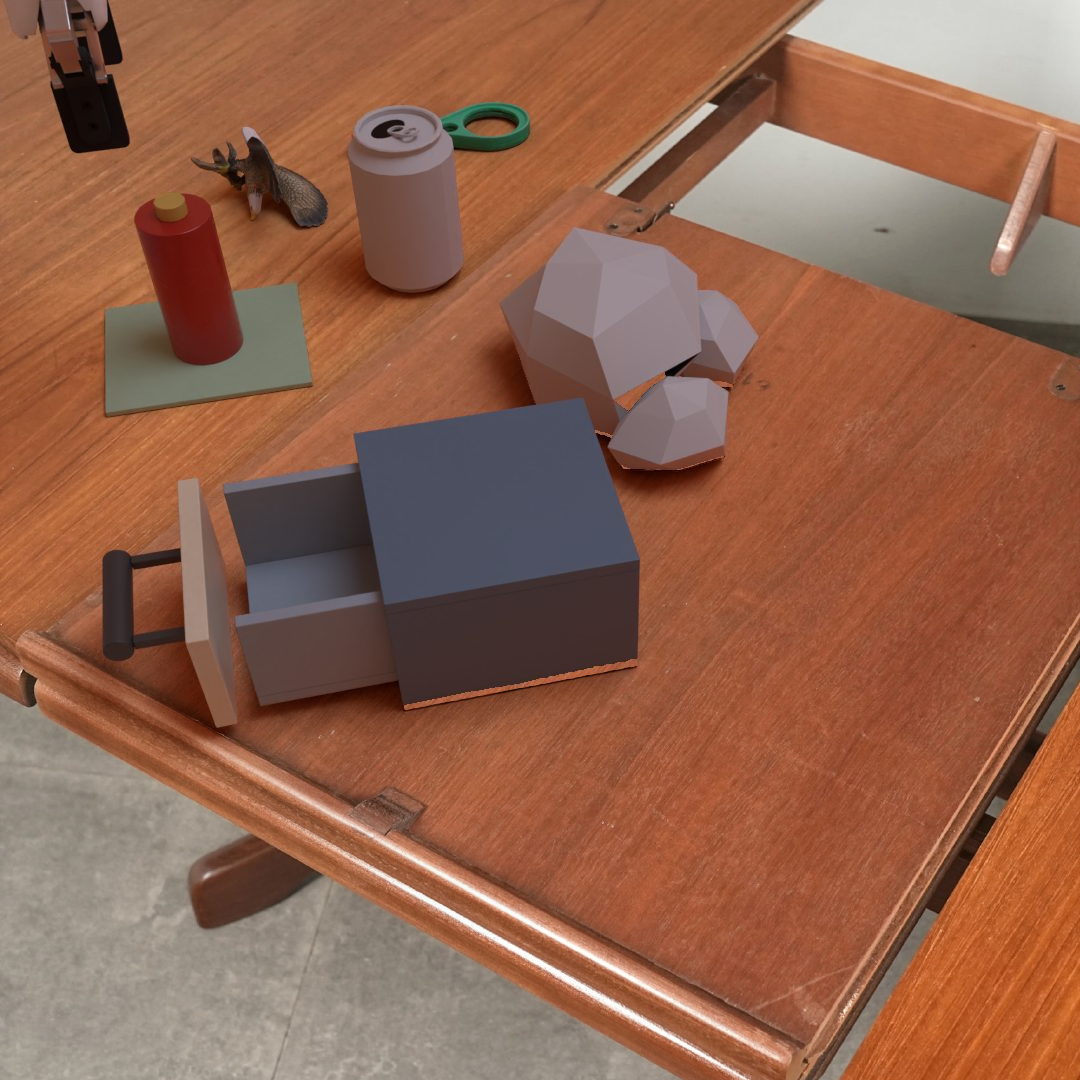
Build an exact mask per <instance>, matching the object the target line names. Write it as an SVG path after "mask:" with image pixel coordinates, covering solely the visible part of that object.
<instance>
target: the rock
mask: <svg viewBox="0 0 1080 1080" xmlns="http://www.w3.org/2000/svg"><path fill="white" fill-rule="evenodd" d="M498 304H499V308H500V310H501V313H502V315H503V318H504V320H505V323H506V326H507V328H508V331H509V334H510V336H511V339H512V341H513V344H514V343H515V344H514V346H515V345H516V347H515V349H516V348H517V350H516V352H517V351H518V353H517V355H518V354H519V356H518V358H519V357H520V359H519V361H520V360H521V362H520V364H521V363H522V364H521V367H522V366H523V367H522V369H523V368H524V370H523V373H524V372H525V373H524V375H525V374H526V376H525V378H526V377H527V379H526V381H527V380H528V382H527V384H528V383H529V385H528V387H529V386H530V388H531V391H532V394H531V396H532V395H533V396H532V398H533V397H534V399H533V401H534V400H535V402H534V404H535V403H536V405H538V404H544V403H550V402H557V401H563V400H570V399H576V398H583V399H584V402H585V405H586V408H587V410H588V413H589V416H590V419H591V422H592V425H593V427H594V430H598V431H600V432H605V433H608V434H610V435H613V436H612V438H611V439H610V441H609V443H608V445H607V449H608V450H609V452H610V453H611V454H612V455H611V456H613V458H614V460H615V461H616V462H617V464H618V463H619V464H620V465H623V466H624V467H627V468H630V469H653V470H652V471H654V470H656V469H660V470H677V469H681V468H685V467H688V466H691V465H695V464H697V463H701V462H704V461H708V460H710V459H715V458H717V457H721V456H724V455H725V456H726V451H725V449H726V450H727V430H728V409H729V391H728V390H727V389H726V388H722V387H721V386H719V385H718V384H716V383H715V382H713V381H722V382H727V383H729V384H732V385H733V383H734V382H735V380H736V379H738V378H739V376H740V374H741V372H742V370H743V369H744V367H745V365H746V362H747V361H748V360H749V357H750V355H751V354H752V351H753V350H754V348H755V346H756V344H757V342H758V340H759V338H760V336H759V335H758V333H757V331H755V329H754V328H753V326H752V325H751V323H750V322H749V320H748V319H747V317H746V316H745V315H744V313H743V311H742V310H741V309H740V307H739V306H738V305H737V303H736V302H735V301H734V300H732V299H730V298H729V297H728V296H726V295H725V294H723V293H721V292H720V291H718V290H717V289H699V287H698V274H697V273H696V272H695V271H693V269H691V268H690V267H689V266H688V265H686V264H685V263H684V262H683V261H681V260H680V259H679V258H678V257H677V256H675V255H674V254H673V253H672V252H670V250H668V249H667V248H666V247H664V246H660V245H656V244H652V243H648V242H642V241H639V240H634V239H630V238H625V237H621V236H616V235H611V234H607V233H603V232H598V231H594V230H591V229H590V230H589V229H585V228H580V227H575V226H573V227H572V229H571V230H570V231H569V233H568V234H567V235H566V237H565V238H564V239H563V241H562V242H561V243H560V245H559V246H558V247H557V248H556V250H555V252H554V253H552V255H551V257H550V258H549V259H548V261H547V262H546V263H545V264H544V265H543V266H541V267H540V268H539V269H538V270H537V271H535V272H534V273H533V274H532V275H530V276H529V277H528V278H527V279H525V280H524V281H522V282H521V284H519V285H518V286H517V287H516V288H515V289H514V290H512V291H511V292H510V293H509V294H507V295H506V296H505V297H504V298H503V299H502V300H500V301H499V302H498ZM663 372H665V375H666V377H665V378H664V379H662V380H661V381H659V382H658V383H656V384H654V385H653V386H652V387H650V388H649V389H648V390H647V391H646V392H645V393H644V394H643V395H642V396H641V398H640V399H639V400H638V401H637V402H636V403H635V404H634V406H633V407H632V408H631V409H630V410H629V411H628V410H626V409H625V408H623V407H622V406H621V405H619V404H618V403H617V402H615V401H614V399H616V398H618V397H619V396H621V395H623V394H625V393H627V392H629V391H630V390H632V389H634V388H636V387H638V386H639V385H641V384H643V383H645V382H647V381H649V380H650V379H652V378H654V377H656V376H658V375H659V374H661V373H663ZM679 376H681V377H679ZM737 377H738V378H737ZM736 381H737V380H736ZM735 383H736V382H735ZM530 388H529V389H530ZM531 391H530V392H531ZM627 411H628V412H627ZM619 464H618V465H619ZM620 465H619V466H620Z"/></svg>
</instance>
